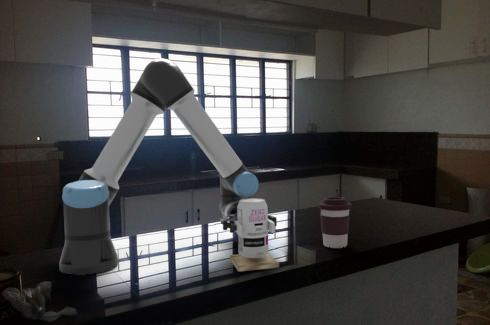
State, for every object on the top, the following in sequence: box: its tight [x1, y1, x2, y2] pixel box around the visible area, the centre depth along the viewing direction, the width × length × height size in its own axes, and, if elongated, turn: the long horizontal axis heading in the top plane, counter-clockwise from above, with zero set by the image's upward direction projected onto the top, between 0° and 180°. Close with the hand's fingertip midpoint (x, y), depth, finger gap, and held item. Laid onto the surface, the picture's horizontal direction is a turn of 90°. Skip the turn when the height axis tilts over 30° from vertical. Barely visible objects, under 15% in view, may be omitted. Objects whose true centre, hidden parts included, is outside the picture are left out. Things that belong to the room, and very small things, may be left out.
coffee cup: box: [318, 196, 352, 249], centre depth 130 cm, size 10×10×15 cm
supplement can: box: [237, 198, 269, 258], centre depth 114 cm, size 8×8×15 cm
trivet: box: [229, 252, 280, 272], centre depth 114 cm, size 11×11×1 cm
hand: (257, 229), depth 109 cm, fingers closed on supplement can, 8 cm apart
